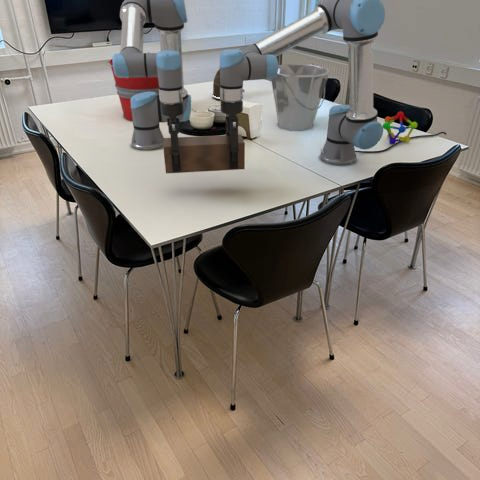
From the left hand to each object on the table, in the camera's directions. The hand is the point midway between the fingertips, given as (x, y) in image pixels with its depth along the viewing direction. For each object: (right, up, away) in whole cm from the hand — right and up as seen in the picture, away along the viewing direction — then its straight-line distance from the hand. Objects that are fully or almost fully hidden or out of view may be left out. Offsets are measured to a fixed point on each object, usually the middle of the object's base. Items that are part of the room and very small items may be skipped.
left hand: (176, 165), depth 157 cm
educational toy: (+97, +20, +53) cm, 112 cm away
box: (+10, 0, +2) cm, 10 cm away
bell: (+14, +64, +124) cm, 140 cm away
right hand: (+20, +1, +2) cm, 20 cm away
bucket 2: (+52, +34, +76) cm, 98 cm away
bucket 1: (-30, +43, +90) cm, 104 cm away
